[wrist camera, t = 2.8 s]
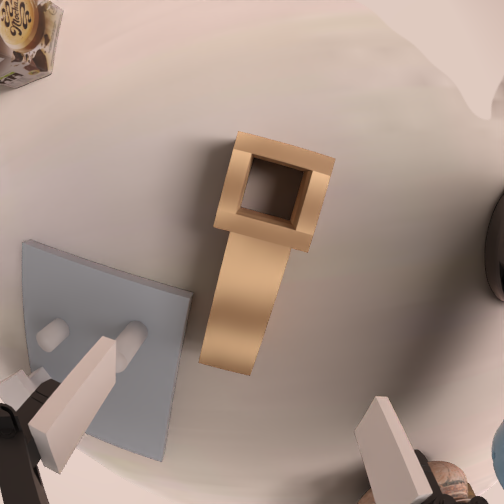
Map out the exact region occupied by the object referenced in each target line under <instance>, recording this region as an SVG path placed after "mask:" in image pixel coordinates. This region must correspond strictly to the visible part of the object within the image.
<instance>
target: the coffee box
mask: <svg viewBox="0 0 504 504" xmlns="http://www.w3.org/2000/svg"><path fill="white" fill-rule="evenodd" d="M62 15H63V10H62V9H61V8H59V7H58V6H56V5H55V4H53V3H52V2H51V1H49V0H0V84H2V85H5V86H9V87H13V88H18V87H20V86H23V85H25V84H28V83H30V82H32V81H35V80H37V79H40V78H43V77H45V76H48V75H50V74H51V73H52V68H53V61H54V55H55V49H56V43H57V38H58V33H59V28H60V24H61V19H62Z"/></svg>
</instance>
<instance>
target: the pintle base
mask: <svg viewBox="0 0 504 504" xmlns="http://www.w3.org/2000/svg"><path fill="white" fill-rule="evenodd" d="M22 292H23V310H24V322H25V332H26V341H27V348H28V355H29V362H30V368H31V374H30V375H29V376H27V375H26V374H25V372H24V371H23V370H22V369H21V370H19V371H18V372H16V373H14V374H13V375H11V376H9V377H8V378H6V379H5V380H3V381H1V382H0V398H1V399H2V401H3V402H4V403H5V404H7V405H9V406H11V407H12V408H13V409H14V410H15V411H17V410H18V409H19V408H20V406H21V405H22V404H23V403H24V402H25V401H26V400H27V399H28V397H30V395H31V394H32V393H33V392H35V390H36V389H37V387H38V386H39V385H40V384H41V383H43V382H45V381H47V380H49V379H53V380H55V381H58V382H60V383H62V382H63V381H64V379H65V378H66V377H67V376H68V375H69V374H70V372H71V371H72V370H73V369H74V368H75V367H76V365H77V364H78V363H79V362H80V361H81V360H82V358H83V357H84V356H85V355H86V354H87V353H88V352H89V350H90V349H91V348H92V347H93V346H94V345H95V344H96V343H97V341H98V340H99V339H100V338H101V337H102V336H104V337H107V338H110V339H113V340H115V341H116V383H115V385H114V386H113V388H112V389H111V391H110V392H109V394H108V396H107V397H106V399H105V400H104V402H103V404H102V405H101V407H100V408H99V410H98V412H97V413H96V415H95V416H94V418H93V420H92V421H91V423H90V425H89V426H88V428H87V430H86V431H85V433H86V434H89V435H91V436H93V437H95V438H98V439H100V440H102V441H105V442H107V443H110V444H112V445H115V446H117V447H120V448H122V449H125V450H128V451H130V452H133V453H136V454H139V455H142V456H145V457H148V458H151V459H154V460H157V461H160V462H162V460H163V457H164V453H165V446H166V439H167V433H168V426H169V420H170V414H171V408H172V402H173V396H174V390H175V384H176V379H177V373H178V367H179V362H180V357H181V351H182V346H183V341H184V336H185V331H186V326H187V321H188V316H189V311H190V306H191V301H192V297H193V292H189V291H186V290H182V289H179V288H175V287H172V286H169V285H165V284H162V283H159V282H155V281H152V280H149V279H145V278H142V277H139V276H136V275H132V274H129V273H126V272H123V271H120V270H117V269H114V268H110V267H107V266H104V265H101V264H98V263H95V262H92V261H89V260H86V259H83V258H80V257H78V256H75V255H72V254H69V253H66V252H63V251H60V250H58V249H55V248H52V247H49V246H46V245H44V244H41V243H38V242H35V241H33V240H28V241H25V242H23V243H22Z"/></svg>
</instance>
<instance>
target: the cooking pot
mask: <svg viewBox="0 0 504 504" xmlns="http://www.w3.org/2000/svg"><path fill="white" fill-rule="evenodd" d="M428 464H429V465H428V466H430V468H431V470H432V471H431V472H433V474H434V476H435V479H436V481H437V483H438V485H439V487H440V489H441V492H442V493H443V494H448V495H450V496H452V497H453V498H454V499H455V500H456V502H466V503H467V502H468V501H470V500H471V499H468V484H467V479H466V476H465V474H464V472H463V471H462V470H461V469H460V468H459V467H457V466H456V465H454V464H452V463H448V462H444V461H431V462H428ZM357 504H376V503H375V499H374V496H373V492H372V489H369V490H368V491H367V492H366V493H365V494H364V495H363V496H362V498H361V499H360V500H359V502H358V503H357Z"/></svg>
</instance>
